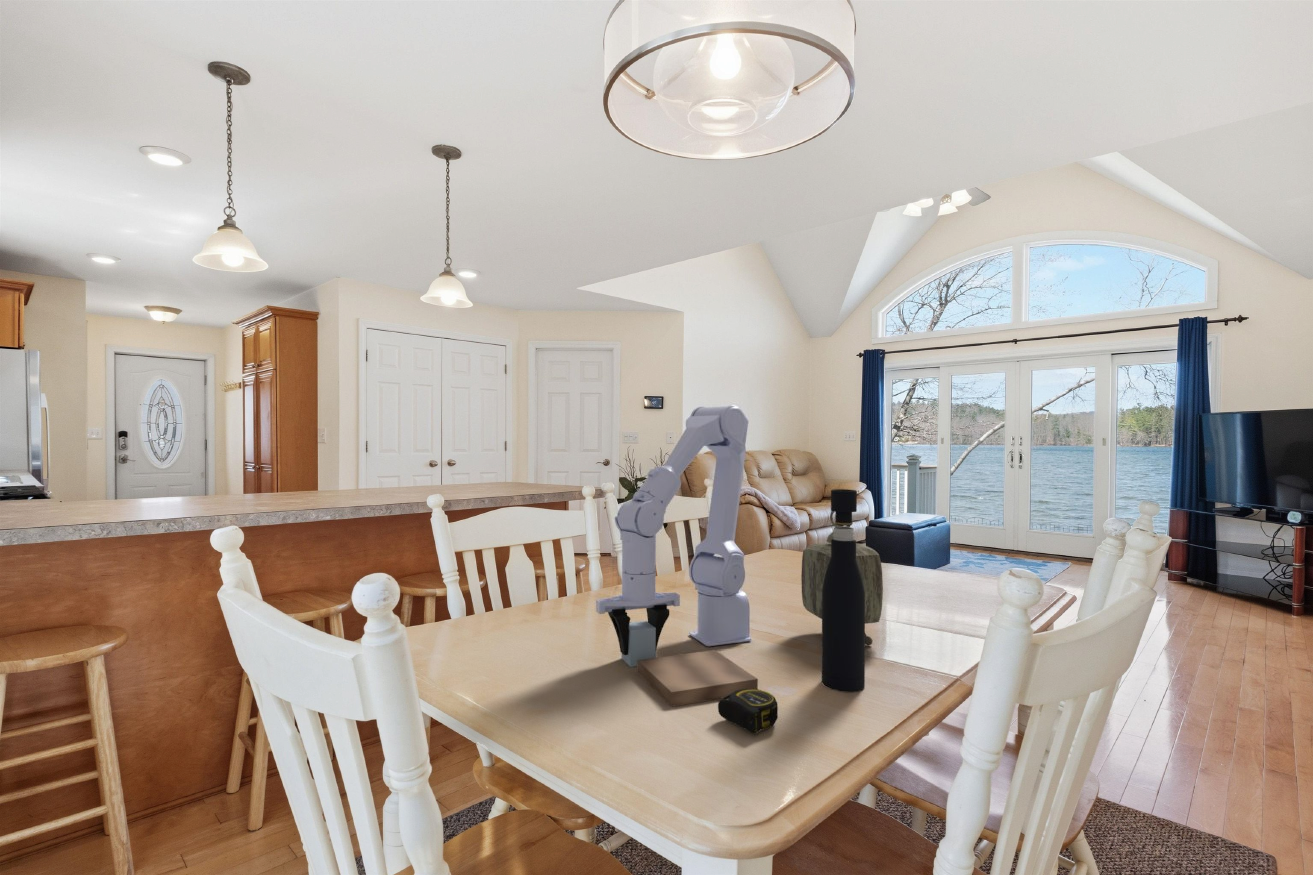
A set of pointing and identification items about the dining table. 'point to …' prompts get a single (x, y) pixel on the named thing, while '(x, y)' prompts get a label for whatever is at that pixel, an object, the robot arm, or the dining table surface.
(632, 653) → the slate block
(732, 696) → the tape measure
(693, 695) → the walnut base
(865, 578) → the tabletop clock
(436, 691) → the dining table surface
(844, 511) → the wine bottle
